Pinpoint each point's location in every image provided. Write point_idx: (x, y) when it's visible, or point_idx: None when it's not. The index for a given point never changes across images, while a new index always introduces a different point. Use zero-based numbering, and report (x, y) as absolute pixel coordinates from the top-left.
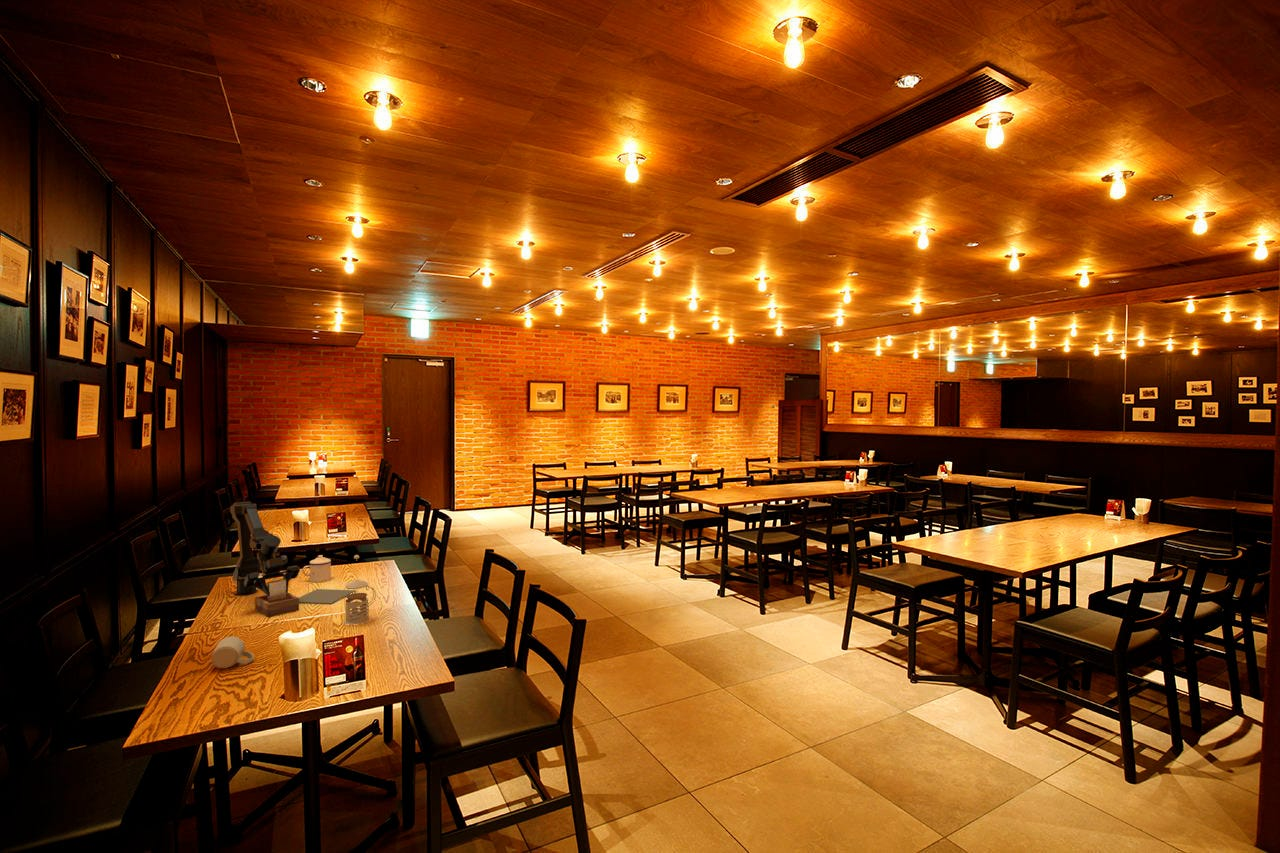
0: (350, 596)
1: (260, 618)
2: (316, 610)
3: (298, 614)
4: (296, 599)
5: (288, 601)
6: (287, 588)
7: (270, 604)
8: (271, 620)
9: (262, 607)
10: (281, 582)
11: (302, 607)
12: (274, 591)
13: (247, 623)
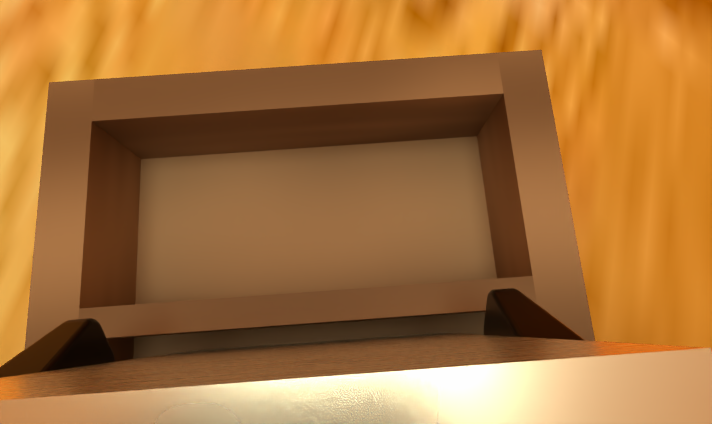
0: None
1: None
2: (20, 34)
3: (207, 27)
4: (98, 88)
5: (225, 82)
6: (16, 366)
7: (498, 58)
8: (474, 16)
9: None
10: (35, 393)
11: None
12: (376, 345)
13: (692, 82)
